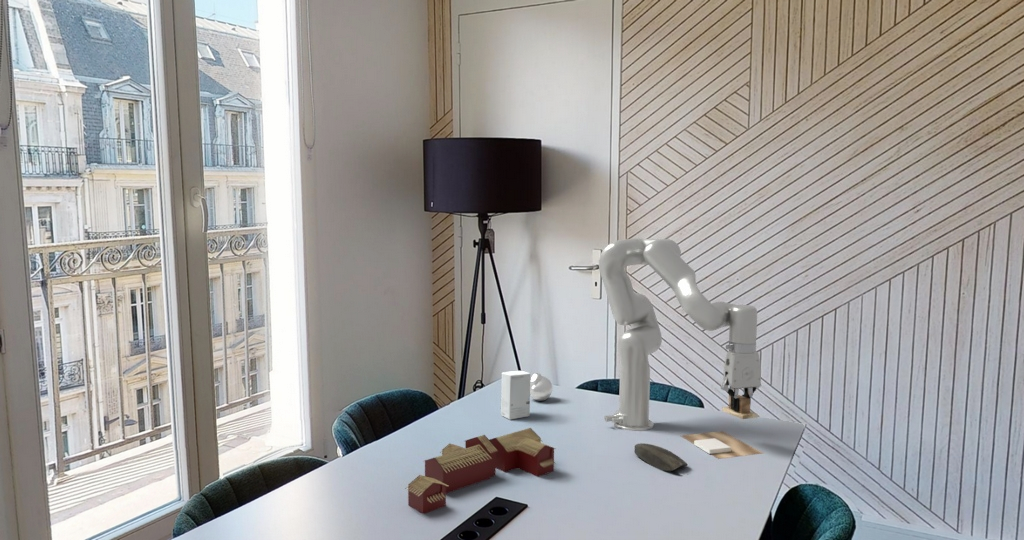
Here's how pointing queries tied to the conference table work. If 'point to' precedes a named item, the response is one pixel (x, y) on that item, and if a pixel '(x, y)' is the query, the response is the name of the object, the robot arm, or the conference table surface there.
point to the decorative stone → (658, 457)
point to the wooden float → (741, 408)
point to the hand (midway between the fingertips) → (740, 409)
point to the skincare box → (515, 394)
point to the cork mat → (736, 445)
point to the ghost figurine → (540, 387)
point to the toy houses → (478, 466)
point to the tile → (712, 446)
